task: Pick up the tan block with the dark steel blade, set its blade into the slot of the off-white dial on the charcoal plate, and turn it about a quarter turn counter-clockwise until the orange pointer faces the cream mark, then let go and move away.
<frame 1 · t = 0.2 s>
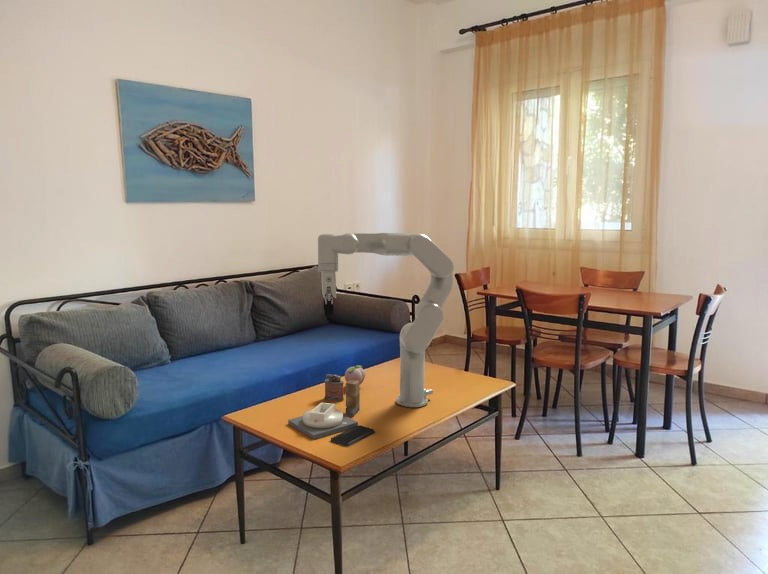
hand: (328, 312, 208), 36 cm above the table, tool pointing down, fingers open, 9 cm apart
dial: (322, 414, 192), point 4 cm above the table, hinge at 0.0°
decorative fruit: (354, 387, 234), on the table
phone: (353, 438, 183), on the table
tan block: (352, 413, 204), on the table
lighter: (334, 399, 219), on the table
dial plate: (322, 425, 193), on the table
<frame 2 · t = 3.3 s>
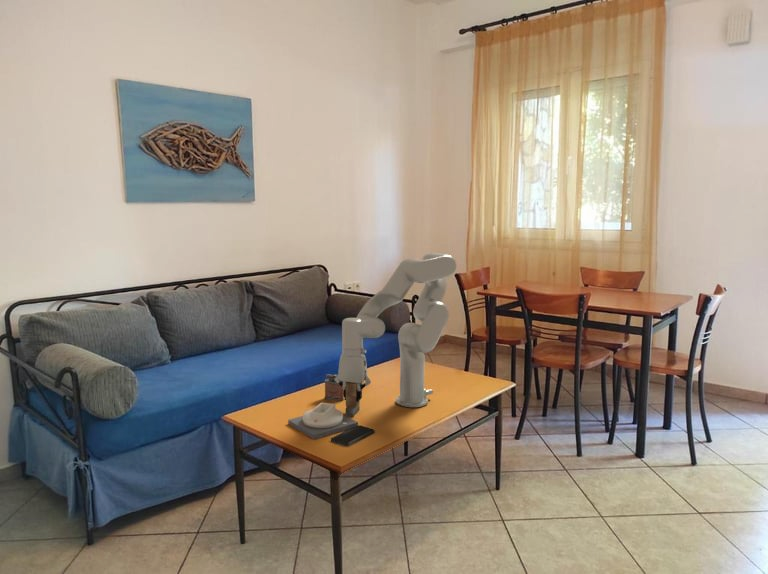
hand: (352, 399, 203), 5 cm above the table, tool pointing down, fingers closed on tan block, 4 cm apart
tan block: (352, 413, 204), on the table, touching gripper
everything else where it was.
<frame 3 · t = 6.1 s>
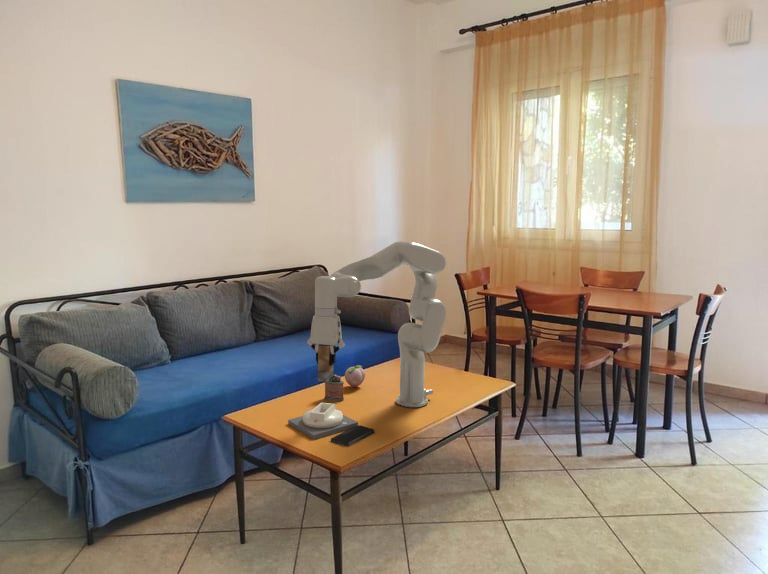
hand: (325, 363, 191), 22 cm above the table, tool pointing down, fingers closed on tan block, 4 cm apart
tan block: (325, 378, 192), point 17 cm above the table, touching gripper
everything else where it was.
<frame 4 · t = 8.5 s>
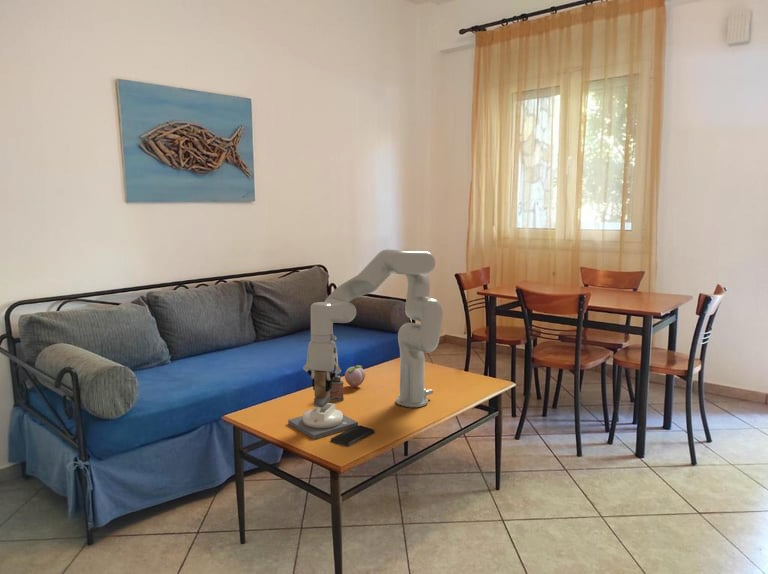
hand: (322, 389, 191), 13 cm above the table, tool pointing down, fingers closed on tan block, 4 cm apart
tan block: (322, 403, 191), point 8 cm above the table, touching gripper
everything else where it was.
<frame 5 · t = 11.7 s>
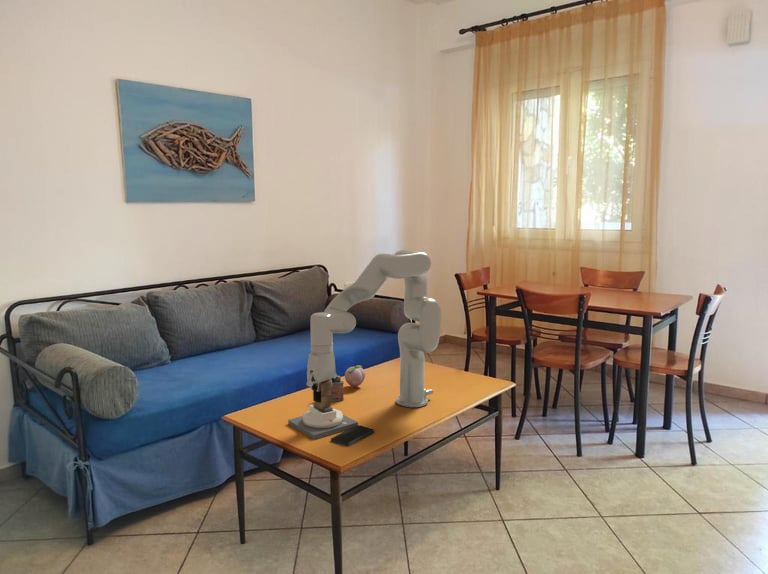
hand: (322, 399, 191), 9 cm above the table, tool pointing down, fingers closed on tan block, 4 cm apart
dial: (322, 414, 192), point 4 cm above the table, hinge at 48.9°, touching tan block
tan block: (322, 414, 192), point 4 cm above the table, touching dial, gripper
everything else where it was.
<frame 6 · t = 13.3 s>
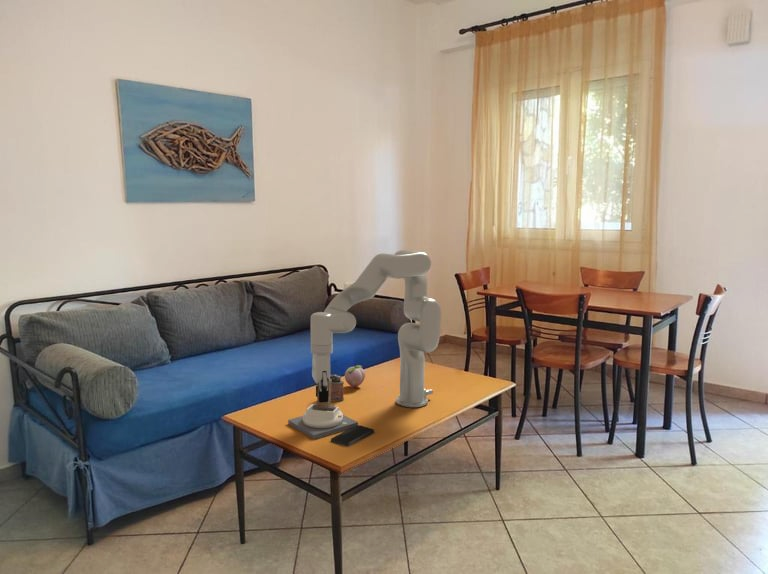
hand: (322, 398, 191), 10 cm above the table, tool pointing down, fingers closed on tan block, 4 cm apart
dial: (322, 414, 192), point 4 cm above the table, hinge at 91.7°, touching tan block
tan block: (323, 414, 192), point 4 cm above the table, touching dial, gripper
everything else where it was.
when the fingers open (10 cm above the table, at t = 14.1 s): tan block stays where it is, resting on dial.
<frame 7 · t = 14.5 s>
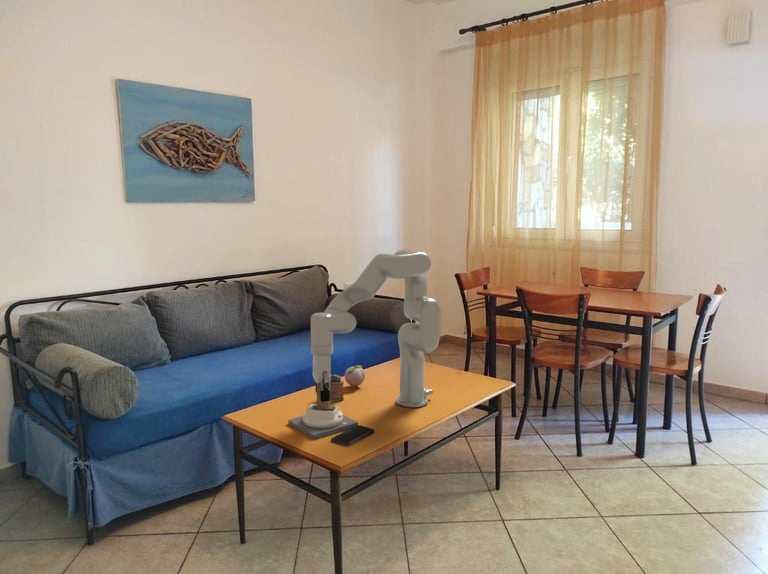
hand: (322, 396, 191), 10 cm above the table, tool pointing down, fingers open, 9 cm apart
tan block: (323, 415, 192), point 4 cm above the table, touching dial
everything else where it was.
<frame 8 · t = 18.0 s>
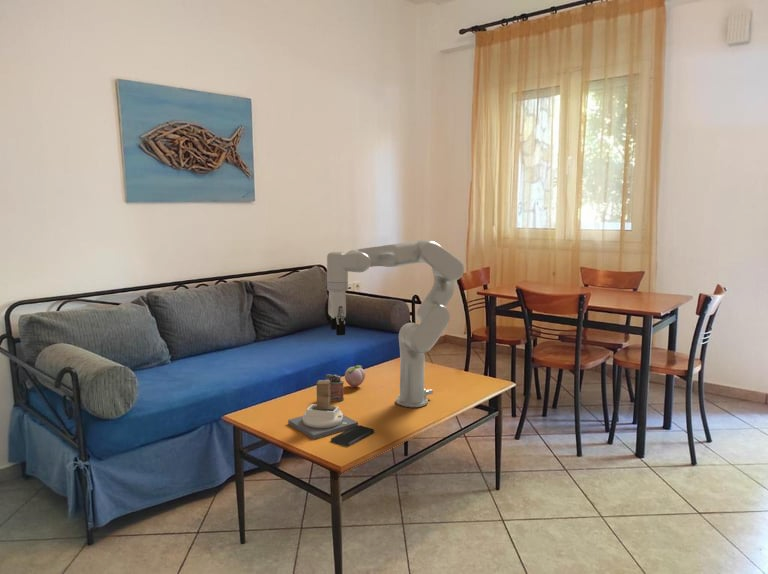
hand: (337, 332, 202), 30 cm above the table, tool pointing down, fingers open, 9 cm apart
nothing on the table moved.
at the end: dial at +92° (first picture: +0°); tan block 0.4 cm from the dial (horizontally); the gripper is holding nothing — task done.
